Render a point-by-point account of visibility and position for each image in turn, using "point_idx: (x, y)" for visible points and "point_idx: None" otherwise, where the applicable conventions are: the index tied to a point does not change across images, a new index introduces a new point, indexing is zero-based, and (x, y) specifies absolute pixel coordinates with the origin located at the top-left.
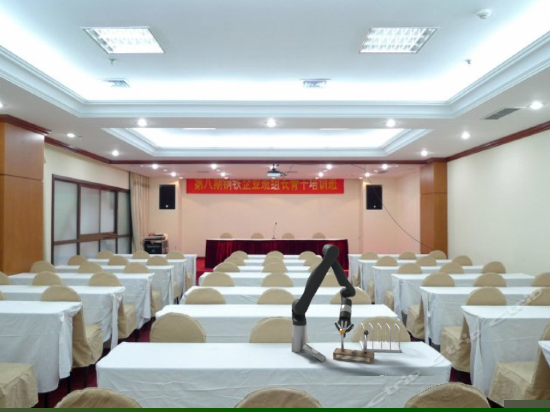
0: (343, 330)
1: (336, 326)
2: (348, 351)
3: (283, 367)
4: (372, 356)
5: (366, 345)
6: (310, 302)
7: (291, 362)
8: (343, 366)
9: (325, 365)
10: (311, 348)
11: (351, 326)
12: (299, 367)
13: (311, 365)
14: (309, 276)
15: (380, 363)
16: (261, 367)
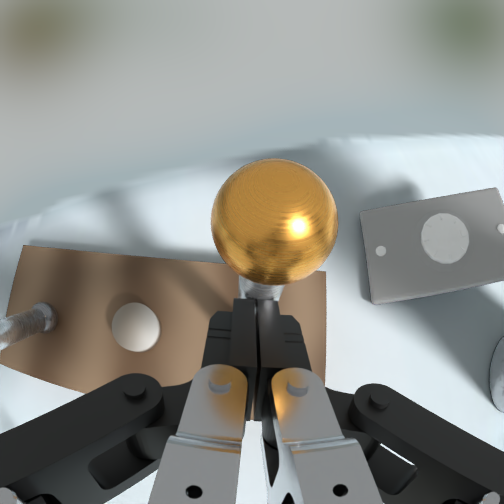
0: (239, 172)
1: (472, 435)
2: (189, 343)
3: (461, 136)
4: (23, 253)
5: (7, 318)
6: None
7: (473, 187)
8: (224, 174)
9: (329, 169)
10: (476, 256)
11: (5, 450)
12: (421, 137)
13: (392, 161)
14: None
15: (11, 278)
16: (499, 137)
